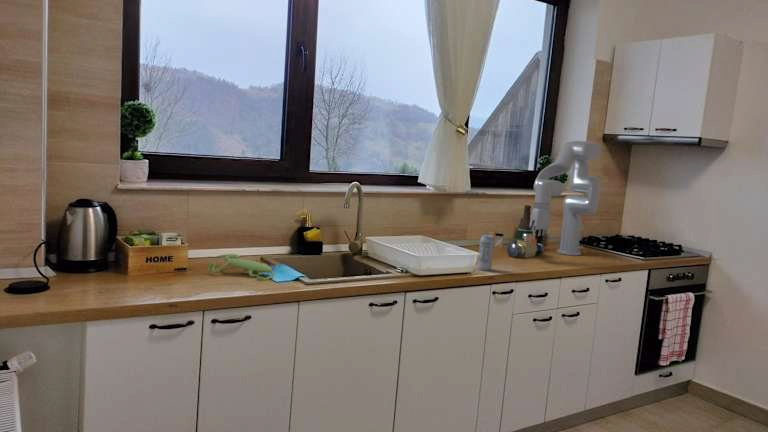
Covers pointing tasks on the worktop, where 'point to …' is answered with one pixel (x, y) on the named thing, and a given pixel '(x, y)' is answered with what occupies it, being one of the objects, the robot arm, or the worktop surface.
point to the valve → (524, 249)
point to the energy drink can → (485, 252)
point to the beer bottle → (524, 223)
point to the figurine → (244, 266)
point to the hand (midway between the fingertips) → (538, 243)
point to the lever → (529, 238)
